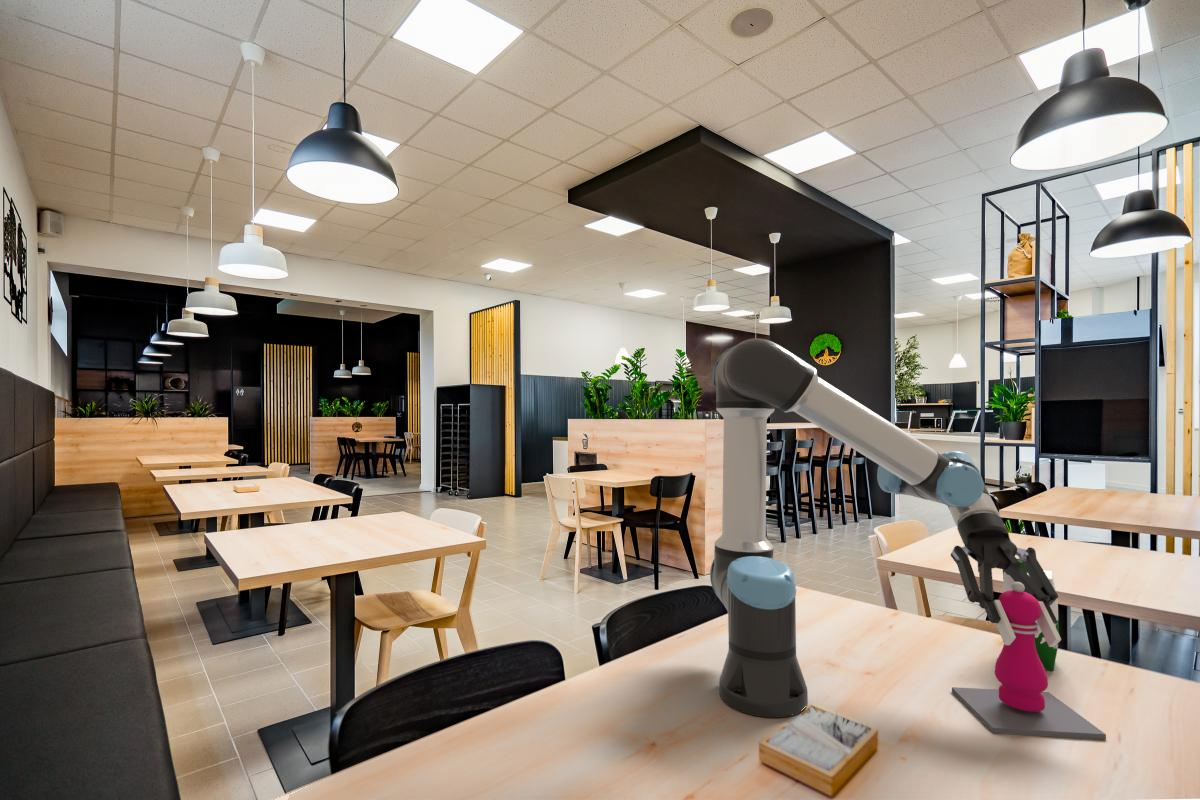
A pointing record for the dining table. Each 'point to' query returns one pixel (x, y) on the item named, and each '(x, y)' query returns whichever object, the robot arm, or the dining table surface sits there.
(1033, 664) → the pepper mill
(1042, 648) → the milk carton
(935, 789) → the dining table surface
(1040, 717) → the rubber mat
